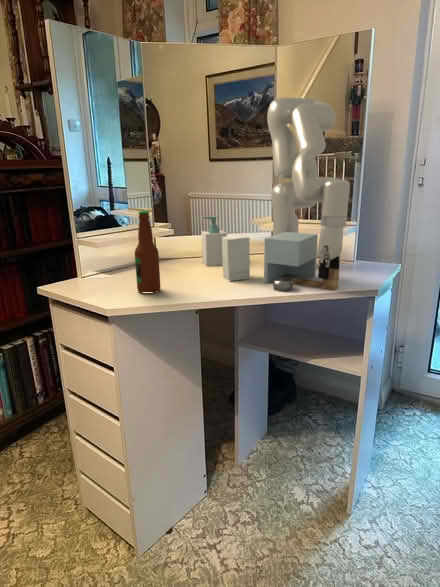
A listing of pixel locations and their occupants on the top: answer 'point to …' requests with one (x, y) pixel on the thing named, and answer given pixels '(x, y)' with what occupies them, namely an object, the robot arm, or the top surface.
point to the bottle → (146, 257)
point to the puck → (283, 284)
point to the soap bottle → (212, 244)
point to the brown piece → (324, 284)
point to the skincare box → (236, 257)
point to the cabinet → (290, 255)
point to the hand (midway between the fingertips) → (328, 274)
